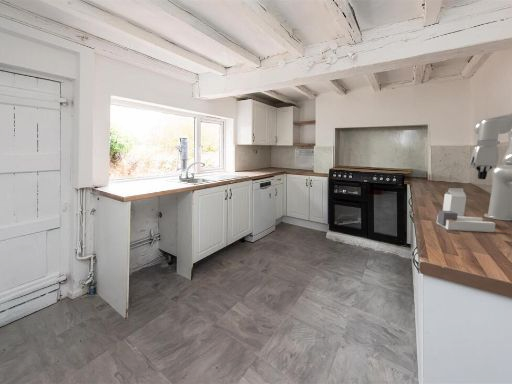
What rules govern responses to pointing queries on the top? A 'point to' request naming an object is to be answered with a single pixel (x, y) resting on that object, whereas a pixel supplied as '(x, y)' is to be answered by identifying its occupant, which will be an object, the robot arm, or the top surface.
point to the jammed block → (446, 216)
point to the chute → (469, 224)
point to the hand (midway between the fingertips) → (481, 178)
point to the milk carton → (455, 201)
